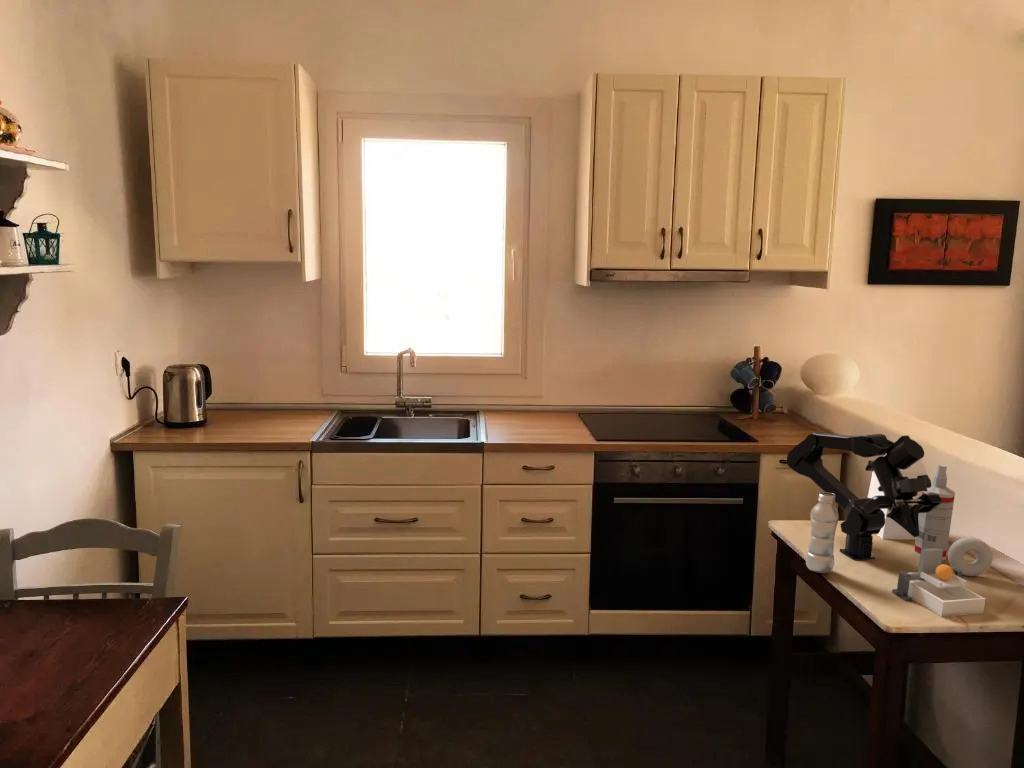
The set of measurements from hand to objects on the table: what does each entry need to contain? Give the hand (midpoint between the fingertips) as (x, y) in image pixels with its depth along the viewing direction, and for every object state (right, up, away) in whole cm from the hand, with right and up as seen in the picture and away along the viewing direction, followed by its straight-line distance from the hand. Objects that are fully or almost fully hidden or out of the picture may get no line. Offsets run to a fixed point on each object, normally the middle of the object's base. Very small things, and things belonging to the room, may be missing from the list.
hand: (916, 536), depth 194 cm
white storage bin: (+2, -14, -8) cm, 16 cm away
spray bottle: (+14, -9, +21) cm, 27 cm away
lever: (+1, -13, -4) cm, 13 cm away
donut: (+17, -12, +9) cm, 23 cm away
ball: (+2, -7, -9) cm, 11 cm away
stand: (+1, -13, -4) cm, 14 cm away
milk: (+12, -6, +39) cm, 41 cm away
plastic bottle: (-21, -10, +8) cm, 24 cm away
